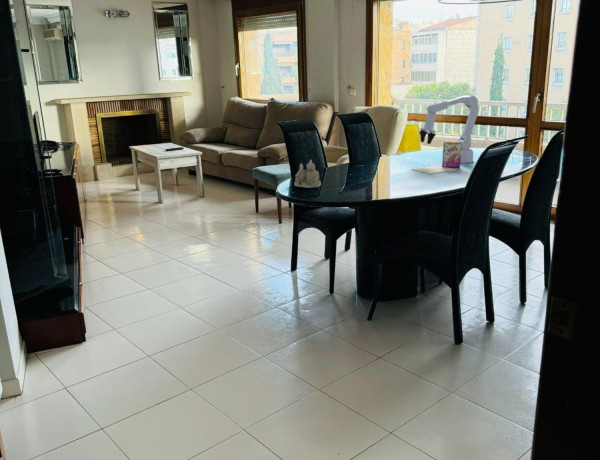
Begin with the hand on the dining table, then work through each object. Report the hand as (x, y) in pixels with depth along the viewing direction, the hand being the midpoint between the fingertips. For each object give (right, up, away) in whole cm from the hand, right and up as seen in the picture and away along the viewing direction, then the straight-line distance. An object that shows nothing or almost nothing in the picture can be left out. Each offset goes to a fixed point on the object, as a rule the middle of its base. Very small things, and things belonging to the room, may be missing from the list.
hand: (425, 142), depth 365 cm
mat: (+2, -20, -14) cm, 24 cm away
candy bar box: (+15, -17, -10) cm, 25 cm away
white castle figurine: (-79, -32, -36) cm, 93 cm away
